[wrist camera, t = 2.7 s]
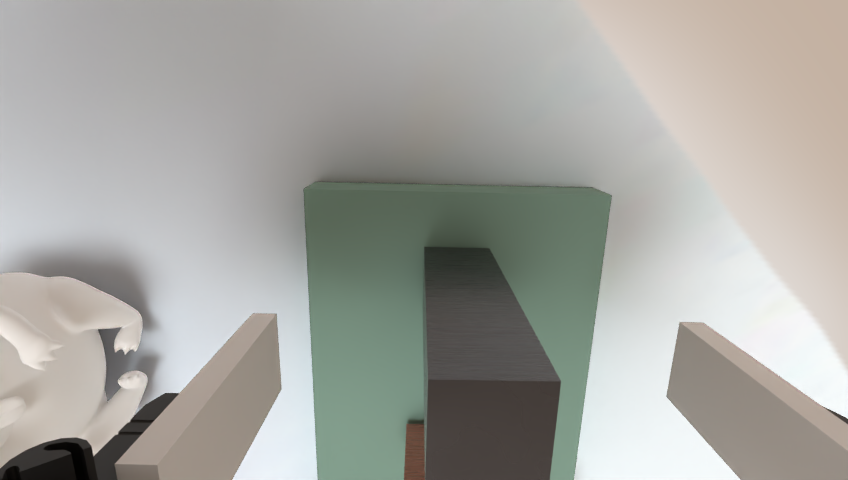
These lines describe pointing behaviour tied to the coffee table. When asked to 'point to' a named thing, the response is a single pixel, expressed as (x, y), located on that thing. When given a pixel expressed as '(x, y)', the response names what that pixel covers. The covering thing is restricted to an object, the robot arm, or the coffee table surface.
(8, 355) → the figurine
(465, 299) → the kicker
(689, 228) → the coffee table surface
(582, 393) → the plate
